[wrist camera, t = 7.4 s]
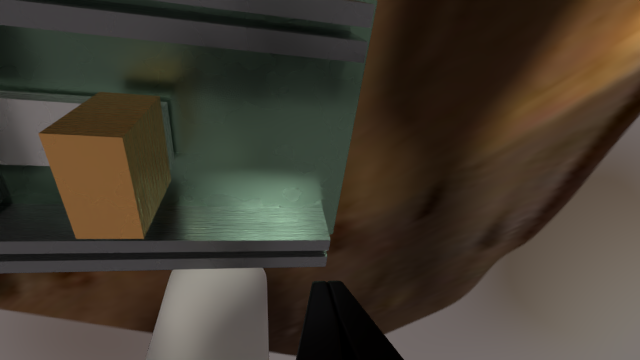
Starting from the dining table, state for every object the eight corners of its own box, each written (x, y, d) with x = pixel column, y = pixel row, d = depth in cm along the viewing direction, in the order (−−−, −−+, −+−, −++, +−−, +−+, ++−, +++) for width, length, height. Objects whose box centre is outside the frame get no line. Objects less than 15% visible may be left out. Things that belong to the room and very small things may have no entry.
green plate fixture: (370, -1, 15) (422, 9, 10) (329, 222, 23) (348, 294, 18) (-216, -86, 11) (-622, -141, 6) (-38, 220, 19) (-155, 314, 13)
